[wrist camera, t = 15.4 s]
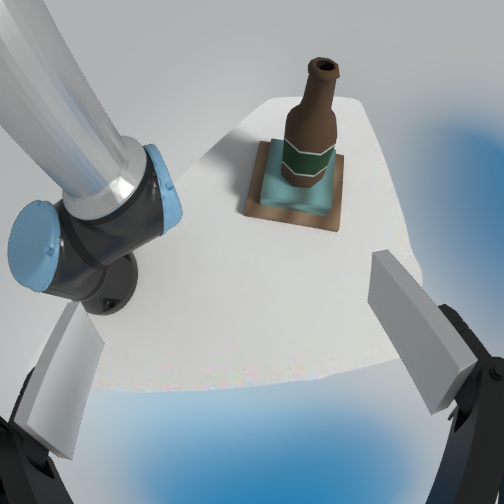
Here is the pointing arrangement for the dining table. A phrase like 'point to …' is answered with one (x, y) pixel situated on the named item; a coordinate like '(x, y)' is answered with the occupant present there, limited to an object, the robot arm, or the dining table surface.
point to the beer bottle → (311, 127)
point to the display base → (291, 214)
